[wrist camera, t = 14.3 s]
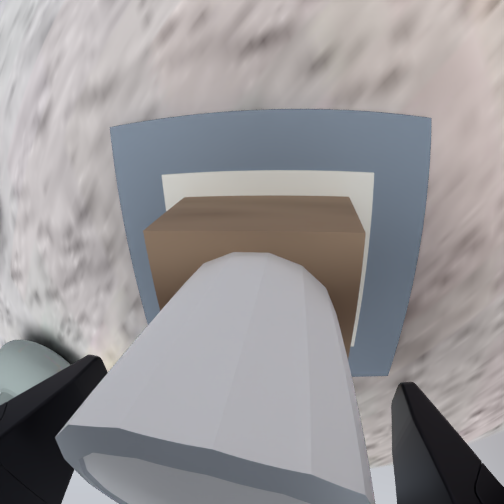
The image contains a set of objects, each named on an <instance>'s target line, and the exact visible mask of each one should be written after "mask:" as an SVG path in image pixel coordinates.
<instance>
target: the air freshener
mask: <svg viewBox="0 0 504 504" xmlns="http://www.w3.org/2000/svg"><path fill="white" fill-rule="evenodd" d="M70 365H71V364H70V363H68V362H67V361H66V360H65V359H64V358H63V357H61V356H60V355H58V354H57V353H55V352H54V351H52V350H51V349H49V348H47V347H45V346H43V345H41V344H38V343H36V342H33V341H28V340H13V341H10V342H8V343H6V344H5V345H3V346H2V348H1V349H0V392H1V394H0V405H1V404H3V403H5V402H8V401H9V400H10V399H12V398H14V397H16V396H17V395H19V394H21V393H23V392H24V391H26V390H28V389H30V388H31V387H33V386H35V385H37V384H38V383H40V382H42V381H44V380H45V379H47V378H49V377H51V376H52V375H54V374H56V373H58V372H59V371H61V370H63V369H65V368H66V367H68V366H70Z"/></svg>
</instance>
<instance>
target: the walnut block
mask: <svg viewBox="0 0 504 504" xmlns="http://www.w3.org/2000/svg"><path fill="white" fill-rule="evenodd" d="M143 233H144V239H145V244H146V249H147V254H148V259H149V264H150V269H151V273H152V278H153V282H154V287H155V291H156V296H157V300H158V304H159V308H160V311H161V310H162V309H163V307H164V306H165V305H166V304H167V303H168V302H169V301H170V299H171V298H172V297H173V296H174V295H175V294H176V293H177V291H178V290H179V289H180V288H181V287H182V286H183V285H184V284H185V282H186V281H187V280H188V279H189V278H190V277H191V276H192V275H193V274H194V273H195V272H196V271H197V270H198V269H199V268H200V267H201V266H202V265H203V264H204V263H206V262H208V261H211V260H214V259H216V258H219V257H222V256H224V255H227V254H230V253H232V252H258V253H271V254H273V255H276V256H279V257H281V258H284V259H286V260H289V261H291V262H294V263H297V264H299V265H302V266H303V267H304V268H305V269H306V270H307V271H308V272H310V273H311V274H312V275H313V276H314V277H315V278H316V279H317V280H318V281H319V282H320V283H321V284H322V285H323V286H325V287H326V289H327V291H328V294H329V296H330V299H331V301H332V304H333V306H334V309H335V312H336V314H337V318H338V322H339V326H340V330H341V334H342V338H343V342H344V346H345V350H346V354H347V359H348V357H349V352H350V347H351V341H352V335H353V329H354V323H355V317H356V311H357V304H358V297H359V289H360V282H361V274H362V265H363V256H364V246H365V236H366V232H365V230H364V228H363V226H362V224H361V221H360V219H359V217H358V215H357V213H356V210H355V208H354V206H353V204H352V202H351V200H350V198H349V197H344V196H282V195H266V196H203V197H184V198H183V199H181V200H180V201H179V202H178V203H176V204H175V205H174V206H173V207H171V208H170V209H169V210H168V211H166V212H165V213H164V214H163V215H161V216H160V217H159V218H158V219H157V220H155V221H154V222H153V223H152V224H151V225H149V226H148V227H147V228H146V229H145V230H143Z"/></svg>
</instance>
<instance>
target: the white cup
mask: <svg viewBox="0 0 504 504" xmlns="http://www.w3.org/2000/svg"><path fill="white" fill-rule="evenodd" d="M55 439H56V441H57V443H58V446H59V448H60V450H61V453H62V455H63V457H64V459H65V460H66V461H67V462H68V463H69V464H70V465H71V466H72V467H73V468H74V469H75V470H76V471H77V472H78V473H79V474H80V475H81V476H82V477H83V478H84V479H85V480H86V481H87V482H88V483H89V484H91V485H92V486H93V487H95V488H96V489H98V490H99V491H101V492H102V493H104V494H105V495H107V496H108V497H110V498H111V499H113V500H114V501H116V502H117V503H119V504H375V499H374V492H373V486H372V480H371V473H370V467H369V461H368V455H367V450H366V444H365V439H364V434H363V428H362V423H361V418H360V413H359V408H358V404H357V399H356V394H355V390H354V385H353V380H352V376H351V372H350V367H349V363H348V359H347V354H346V350H345V346H344V342H343V338H342V334H341V330H340V326H339V322H338V318H337V314H336V312H335V309H334V306H333V304H332V301H331V299H330V296H329V294H328V291H327V289H326V287H325V286H323V285H322V284H321V283H320V282H319V281H318V280H317V279H316V278H315V277H314V276H313V275H312V274H311V273H310V272H308V271H307V270H306V269H305V268H304V267H303V266H302V265H299V264H297V263H294V262H291V261H289V260H286V259H284V258H281V257H279V256H276V255H273V254H271V253H258V252H232V253H230V254H227V255H224V256H222V257H219V258H216V259H214V260H211V261H208V262H206V263H204V264H203V265H202V266H201V267H200V268H199V269H198V270H197V271H196V272H195V273H194V274H193V275H192V276H191V277H190V278H189V279H188V280H187V281H186V282H185V284H184V285H183V286H182V287H181V288H180V289H179V290H178V291H177V293H176V294H175V295H174V296H173V297H172V298H171V299H170V301H169V302H168V303H167V304H166V305H165V306H164V307H163V309H162V310H161V311H160V312H159V313H158V314H157V316H156V317H155V318H154V319H153V320H152V321H151V322H150V324H149V325H148V326H147V327H146V328H145V329H144V331H143V332H142V333H141V334H140V335H139V336H138V338H137V339H136V340H135V341H134V342H133V343H132V345H131V346H130V347H129V348H128V349H127V351H126V352H125V353H124V354H123V355H122V356H121V358H120V359H119V360H118V361H117V362H116V364H115V365H114V366H113V367H112V368H111V370H110V371H109V372H108V373H107V374H106V375H105V377H104V378H103V379H102V380H101V381H100V383H99V384H98V385H97V386H96V388H95V389H94V390H93V391H92V392H91V394H90V395H89V396H88V397H87V398H86V400H85V401H84V402H83V403H82V405H81V406H80V407H79V408H78V410H77V411H76V412H75V413H74V414H73V416H72V417H71V418H70V419H69V421H68V422H67V423H66V424H65V426H64V427H63V428H62V429H61V431H60V432H59V433H58V434H57V436H56V437H55Z"/></svg>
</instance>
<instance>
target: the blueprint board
mask: <svg viewBox="0 0 504 504" xmlns="http://www.w3.org/2000/svg"><path fill="white" fill-rule="evenodd" d="M110 133H111V142H112V150H113V158H114V166H115V173H116V179H117V186H118V192H119V198H120V204H121V210H122V215H123V221H124V226H125V231H126V236H127V241H128V246H129V250H130V255H131V260H132V264H133V268H134V273H135V277H136V281H137V285H138V289H139V293H140V297H141V301H142V305H143V308H144V312H145V316H146V319H147V323H148V325H149V324H150V322H151V321H152V320H153V319H154V318H155V317H156V316H157V314H158V313H159V312H160V308H159V304H158V300H157V296H156V291H155V287H154V282H153V278H152V273H151V269H150V264H149V259H148V254H147V249H146V244H145V239H144V233H143V230H145V229H146V228H147V227H148V226H149V225H151V224H152V223H153V222H154V221H155V220H157V219H158V218H159V217H160V216H161V215H163V214H164V213H165V212H166V211H168V210H169V209H170V208H171V207H173V206H174V205H175V204H176V203H178V202H179V201H180V200H181V199H183V198H184V197H203V196H266V195H282V196H344V197H349V198H350V200H351V202H352V204H353V206H354V208H355V210H356V213H357V215H358V217H359V219H360V221H361V224H362V226H363V228H364V230H365V232H366V236H365V246H364V256H363V265H362V274H361V282H360V289H359V297H358V304H357V311H356V317H355V323H354V329H353V335H352V341H351V347H350V352H349V357H348V363H349V367H350V372H351V376H352V377H359V376H388V374H389V371H390V368H391V364H392V361H393V358H394V355H395V351H396V348H397V345H398V341H399V338H400V334H401V330H402V327H403V323H404V319H405V315H406V311H407V307H408V303H409V298H410V294H411V289H412V285H413V280H414V275H415V270H416V265H417V260H418V254H419V248H420V242H421V236H422V230H423V223H424V215H425V207H426V199H427V189H428V178H429V166H430V149H431V118H427V117H419V116H411V115H403V114H393V113H382V112H370V111H354V110H331V109H269V110H246V111H230V112H217V113H206V114H196V115H187V116H178V117H170V118H163V119H156V120H149V121H143V122H137V123H131V124H125V125H120V126H115V127H110Z"/></svg>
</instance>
